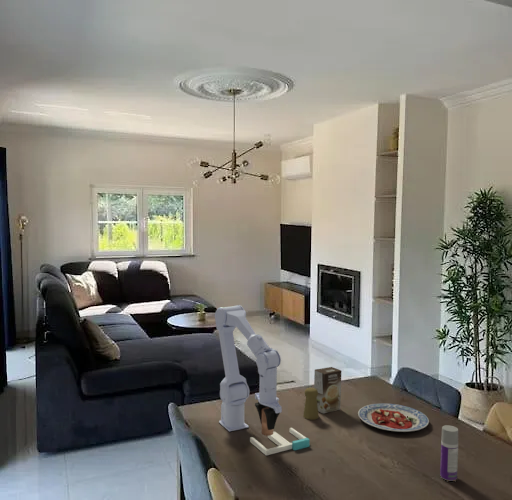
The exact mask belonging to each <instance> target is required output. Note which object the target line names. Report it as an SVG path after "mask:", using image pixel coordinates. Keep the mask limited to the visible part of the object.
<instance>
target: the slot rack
mask: <svg viewBox="0 0 512 500" xmlns="http://www.w3.org/2000/svg"><path fill="white" fill-rule="evenodd" d="M288 429H289V430H288V431H289V433H290V434H291V435H292V436H294V437H295V438H297V439H296V440H292V441H291V442H290V441H288V440H287V439H286V438H284V437H283V436H282V435H281V434H279V433H278V432H276V431H273V434H272V435H270V436H267V438H268V439H269V440H270V441H271V442H273V443H274V444H276V446H275V447H270V448H267V447H266V446H265V445H263V444H262V443H261V442H260V441H258V440H257V439H256V438H255V437H253V436H251V437H249V443H251V444H252V445H253V446H254V447H255V448H257V449H258V450H259V451H260V452H261V453H263V455H265V456H269V455H274V454H278V453H281V452H284V451H288V450H293V451H298V450H302V449H305V448H310V445H311V444H310V438H309V437H306V436H305V435H303V434H302V433H300V432H299V431H297V430H296V429H295V428H293V427H289V428H288Z"/></svg>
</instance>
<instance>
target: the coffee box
mask: <svg viewBox="0 0 512 500" xmlns="http://www.w3.org/2000/svg"><path fill="white" fill-rule="evenodd" d="M313 379H314V383H313V385H314V386H313V388H315V389H317V391H318V396H317V406H318V413H321V414H326V413H330V412H331V413H332V412H335V411H340V410H341V403H342V402H341V400H342V399H341V395H342V370H341V369H339V368H335V367H333V366H330V367H323V368H317V369H314V378H313Z"/></svg>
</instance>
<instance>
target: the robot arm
mask: <svg viewBox="0 0 512 500" xmlns="http://www.w3.org/2000/svg"><path fill="white" fill-rule="evenodd" d="M214 321H215V328H216V330H217V331H218V336H219V337H218V338H219V343H220V350H221V356H222V357H221V358H222V361H223V362H222V363H223V369H224V375H225V377H224V378H222V380H221V382H220V383H219V389H220V390H219V397H220V400H221V401H222V403H221V404H220V405H221V406H220V420H219V421H218V423H219V424H220V425H221V426H222V427H223V428H225V429H226V431H228V432H233V431H239V430H243V429H247V428H248V429H249V425H248V424H247V423H245V402H247V399H248V398H249V397H250V387H249V385H248V383H247V382H248V381H247V378H246V377H244V376H243V375H241V374H240V369H239V368H240V367H239V362H238V356H237V351H236V350H237V349H236V344H235V337H234V336H235V335H234V331H235V330H236V328H237V330H239V331H240V333H241V334H242V335H243V337H245V338H246V340H247V342H246V345H247V347H248V349H249V350H250V351H251V352H252V354H253V356H254V357H255V358H256V359H255V363H256V366H257V373H258V374H259V386H258V387H259V392H255V393H254V399H255V400H256V401H258V402H255V403H254V406H255V408H256V410H257V412H258V416H259V422H260V425H262V409H263V408H267V407H268V408H269V409H264V412H265V415H266V419H267V428H268V430H272V429H273V430H275V426H276V422H277V419H278V417H279V415H280V414H281V413H282V408H283V407H282V405H280V403H279V401H280V398H279V397H277V386H278V385H277V384H278V383H277V382H278V381H277V379H278V378H277V377H278V374H277V373H278V372H277V371H278V370H277V369H278V367H280V365H281V361H282V360H281V359H282V358H281V355H280V352H279V351H278V349H277V350H276V349H273V348H272V347H270V346H269V345H268V343H267V342H266V341H265V339H264V338H263V336H262V335H261V334H257V333H256V332H255V330H254V329H253V328H252V326H251V323H250V322H249V320H248V319H247V311H246V310H245V308H244V307H243V306H242V305H241V304H238V305H233V306H224V307H222V306H221V307H218V308H217V309H216V310H215V313H214Z"/></svg>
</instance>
